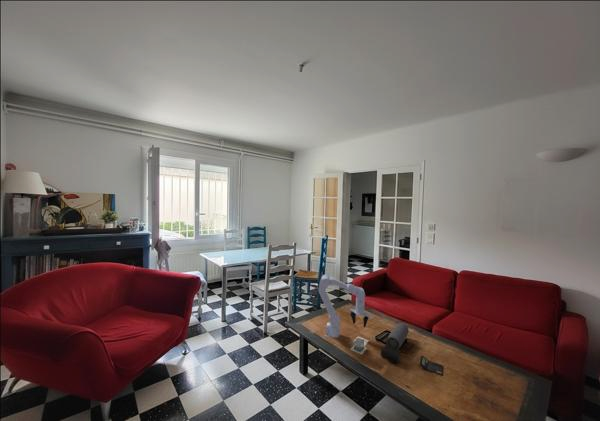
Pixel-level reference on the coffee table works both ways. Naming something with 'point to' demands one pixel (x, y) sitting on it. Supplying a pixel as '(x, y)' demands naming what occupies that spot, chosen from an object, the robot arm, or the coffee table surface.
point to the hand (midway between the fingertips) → (359, 324)
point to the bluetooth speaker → (397, 336)
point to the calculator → (431, 366)
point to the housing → (358, 344)
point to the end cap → (390, 354)
